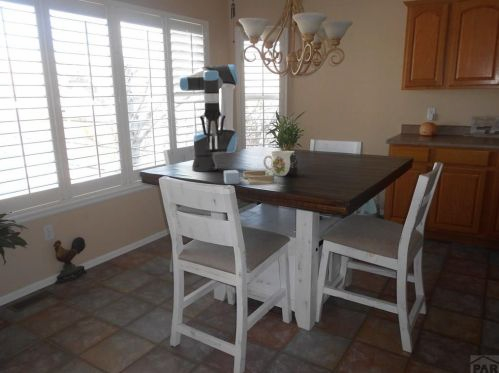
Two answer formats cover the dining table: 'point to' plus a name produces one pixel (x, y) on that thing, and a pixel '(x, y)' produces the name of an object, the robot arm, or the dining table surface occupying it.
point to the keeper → (231, 177)
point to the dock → (258, 177)
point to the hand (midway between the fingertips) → (213, 148)
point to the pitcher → (279, 162)
